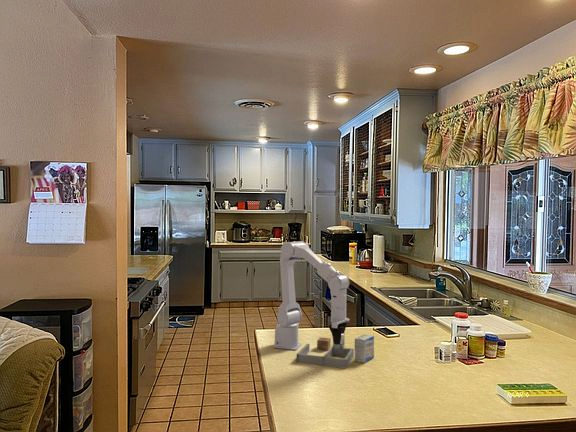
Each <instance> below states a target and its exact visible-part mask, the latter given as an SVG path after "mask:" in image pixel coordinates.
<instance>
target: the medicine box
mask: <svg viewBox="0 0 576 432" xmlns="http://www.w3.org/2000/svg"><path fill="white" fill-rule="evenodd" d="M374 358H375V336H374V335H371V334H367V333H366V334H362V335H361V336H358V337H355V339H354V361H355V362H358V363H363V364H366V363H367V362H369V361H370V360H372V359H374Z"/></svg>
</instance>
